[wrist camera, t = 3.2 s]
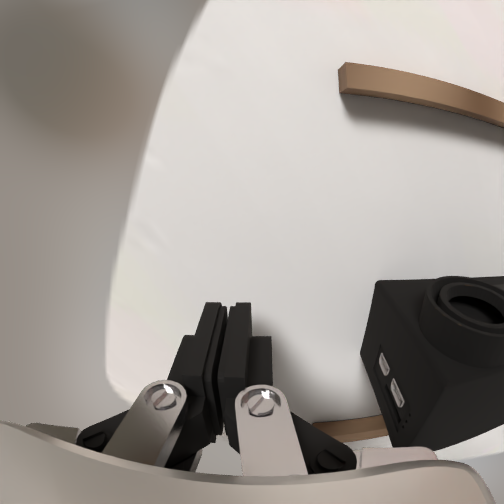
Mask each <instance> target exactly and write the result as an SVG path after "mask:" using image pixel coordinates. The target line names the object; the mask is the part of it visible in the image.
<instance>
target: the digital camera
mask: <svg viewBox="0 0 504 504" xmlns="http://www.w3.org/2000/svg"><path fill="white" fill-rule="evenodd" d="M360 355H361V357H362V360H363V362H364V365H365V368H366V371H367V373H368V376H369V379H370V381H371V384H372V387H373V390H374V393H375V395H376V398H377V401H378V404H379V407H380V410H381V413H382V416H383V419H384V422H385V425H386V428H387V431H388V434H389V437H390V440H391V444H392V447H393V448H400V447H426V448H428V449H430V450H432V451H436V450H440V449H443V448H446V447H449V446H452V445H455V444H458V443H460V442H463V441H466V440H468V439H471V438H473V437H476V436H478V435H480V434H483V433H485V432H487V431H490V430H492V429H494V428H496V427H498V426H500V425H503V424H504V276H499V277H477V278H469V277H462V276H445V277H440V278H437V279H419V280H379V281H377V282H376V284H375V289H374V294H373V299H372V304H371V309H370V313H369V318H368V322H367V327H366V331H365V335H364V339H363V343H362V347H361V351H360Z"/></svg>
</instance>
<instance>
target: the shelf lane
mask: <svg viewBox="0 0 504 504" xmlns="http://www.w3.org/2000/svg"><path fill="white" fill-rule="evenodd" d="M338 77H339V93H344V94H354V95H363V96H371V97H379V98H385V99H392V100H398V101H404V102H409V103H414V104H419V105H424V106H429V107H433V108H438V109H442V110H446V111H450V112H454V113H458V114H461V115H465V116H469V117H472V118H475V119H479V120H482V121H485V122H488V123H491V124H494V125H497V126H500V127H503V128H504V103H503V102H501V101H498V100H496V99H493V98H491V97H488V96H486V95H483V94H480V93H478V92H475V91H472V90H469V89H466V88H463V87H460V86H457V85H454V84H451V83H447V82H444V81H440V80H437V79H433V78H429V77H425V76H421V75H417V74H413V73H408V72H404V71H399V70H394V69H389V68H383V67H377V66H371V65H364V64H357V63H349V62H345V63H344V64H343V65H342V66H341V67H340V68H339V70H338ZM313 426H314V427H316V428H318V429H319V430H321V431H323V432H324V433H326V434H328V435H329V436H331V437H333V438H334V439H336V440H338V441H340V442H341V443H343V442H351V441H358V440H365V439H371V438H377V437H382V436H387V435H389V434H388V431H387V428H386V425H385V422H384V419H383V416H382V415H379V416H373V417H367V418H359V419H352V420H343V421H333V422H322V423H313Z"/></svg>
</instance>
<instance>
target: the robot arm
mask: <svg viewBox="0 0 504 504" xmlns="http://www.w3.org/2000/svg"><path fill="white" fill-rule="evenodd" d="M223 424H224V426H225V432H226V435H228V439H229V445H230V446H231V447H232V448H233V449H235V450H236V451H237V452H238V453H239V454H240V456H241V464H242V471H243V476H231V475H216V474H205V473H196V472H195V471H196V469H197V466H198V464H199V461H200V458H201V456H202V448H204V447H206V446H207V445H209V444H210V443H215V442H216V435H222V432H223ZM0 504H496V502H495V500H494V498H493V496H492V494H491V492H490V490H489V488H488V487H487V485H486V483H485V482H484V480H483V478H482V477H481V476H480V475H479V473H478V472H477V471H476V470H475V469H473V468H472V467H470V466H469V465H466V464H464V463H460V462H455V461H448V460H438V459H437V456H436V454H435V453H434V452H433V451H432V450H430V449H428V448H426V447H400V448H362V450H352V449H351V448H349V447H348V446H347V445H345V444H343V443H341V442H340V441H338V440H336V439H334V438H333V437H331V436H329V435H328V434H326V433H324V432H323V431H321V430H319V429H318V428H316V427H314V426H313V425H311V424H309V423H308V422H306V421H305V420H303V419H301V418H300V417H298V416H297V415H295V414H294V413H292V412H291V411H290V410H289V406H288V403H287V399H286V397H285V395H284V394H283V393H282V392H281V391H280V390H279V389H277V388H275V387H273V378H272V344H271V336H256V337H252V318H251V303H236V306H230V311H229V316H227V307H226V306H222V305H221V302H206V304H205V307H204V309H203V312H202V315H201V318H200V321H199V324H198V327H197V330H196V333H195V335H185V336H184V337H183V339H182V342H181V344H180V347H179V349H178V352H177V355H176V357H175V360H174V362H173V365H172V368H171V370H170V373H169V376H168V379H167V380H161V381H156V382H153V383H151V384H149V385H147V386H146V387H145V388H144V389H143V390H142V391H141V393H140V394H139V396H138V397H137V399H136V400H135V402H134V404H133V405H132V407H131V408H130V409H129V410H127V411H125V412H122V413H120V414H118V415H116V416H113V417H111V418H109V419H106V420H104V421H102V422H100V423H97V424H94V425H92V426H89V427H88V428H86V429H84V430H83V431H80V429H79V428H74V427H64V426H55V425H48V424H41V423H31V424H28V425H26V426H23V425H20V424H16V423H12V422H7V421H2V420H0Z"/></svg>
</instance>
